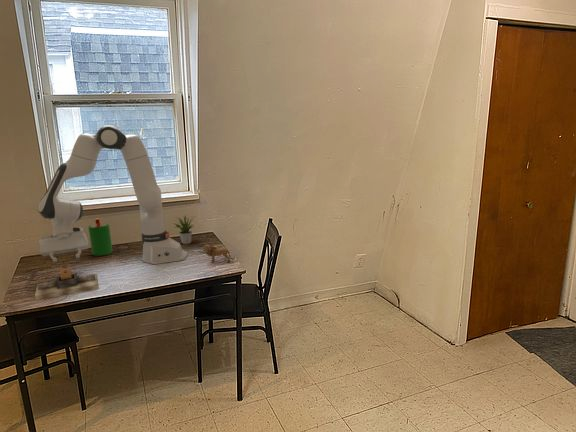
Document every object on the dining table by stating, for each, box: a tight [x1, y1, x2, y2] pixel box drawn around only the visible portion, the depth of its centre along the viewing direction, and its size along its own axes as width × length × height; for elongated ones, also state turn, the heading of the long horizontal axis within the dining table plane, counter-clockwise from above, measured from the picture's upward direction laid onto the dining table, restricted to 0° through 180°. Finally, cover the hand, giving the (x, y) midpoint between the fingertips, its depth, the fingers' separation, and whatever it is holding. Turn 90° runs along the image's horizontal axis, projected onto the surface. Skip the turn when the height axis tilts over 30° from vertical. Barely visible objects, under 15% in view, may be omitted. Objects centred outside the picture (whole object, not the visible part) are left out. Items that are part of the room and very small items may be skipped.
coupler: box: [59, 264, 73, 281], centre depth 184 cm, size 4×4×8 cm
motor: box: [87, 217, 113, 257], centre depth 229 cm, size 10×9×20 cm
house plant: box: [172, 214, 196, 245], centre depth 245 cm, size 14×14×16 cm
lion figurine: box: [203, 244, 235, 263], centre depth 212 cm, size 15×5×9 cm, turn 95°
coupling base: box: [34, 272, 100, 301], centre depth 185 cm, size 24×14×5 cm, turn 116°
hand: (66, 259), depth 195 cm, fingers open, 8 cm apart
